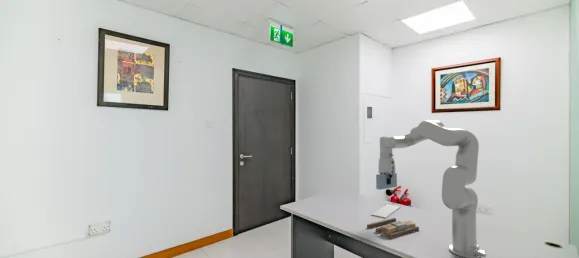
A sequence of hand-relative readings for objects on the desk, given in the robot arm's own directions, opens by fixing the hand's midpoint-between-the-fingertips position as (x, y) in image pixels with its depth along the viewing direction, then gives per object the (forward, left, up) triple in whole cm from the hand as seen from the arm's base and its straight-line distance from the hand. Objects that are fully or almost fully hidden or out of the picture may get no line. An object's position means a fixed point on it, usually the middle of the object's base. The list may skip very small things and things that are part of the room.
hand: (386, 183), depth 157 cm
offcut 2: (-13, +6, -25) cm, 29 cm away
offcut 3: (-13, -2, -25) cm, 29 cm away
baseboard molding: (+17, -17, -26) cm, 35 cm away
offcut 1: (-13, +14, -25) cm, 32 cm away
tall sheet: (0, 0, -3) cm, 3 cm away
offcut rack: (-9, +6, -25) cm, 27 cm away
